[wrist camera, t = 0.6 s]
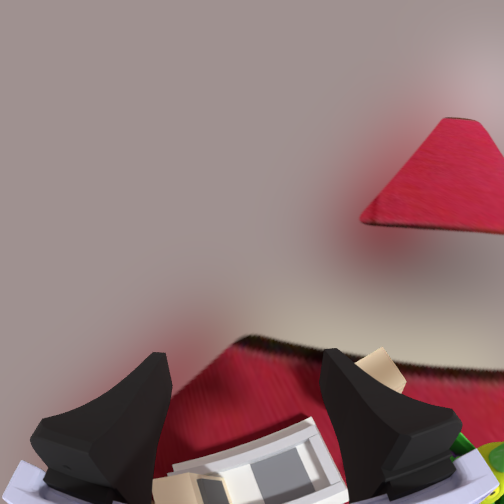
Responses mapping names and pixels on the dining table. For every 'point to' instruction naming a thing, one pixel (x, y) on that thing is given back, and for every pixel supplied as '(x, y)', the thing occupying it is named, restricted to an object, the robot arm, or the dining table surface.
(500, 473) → the fruit basket
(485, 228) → the dining table surface
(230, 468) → the rail
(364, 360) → the maple finger
